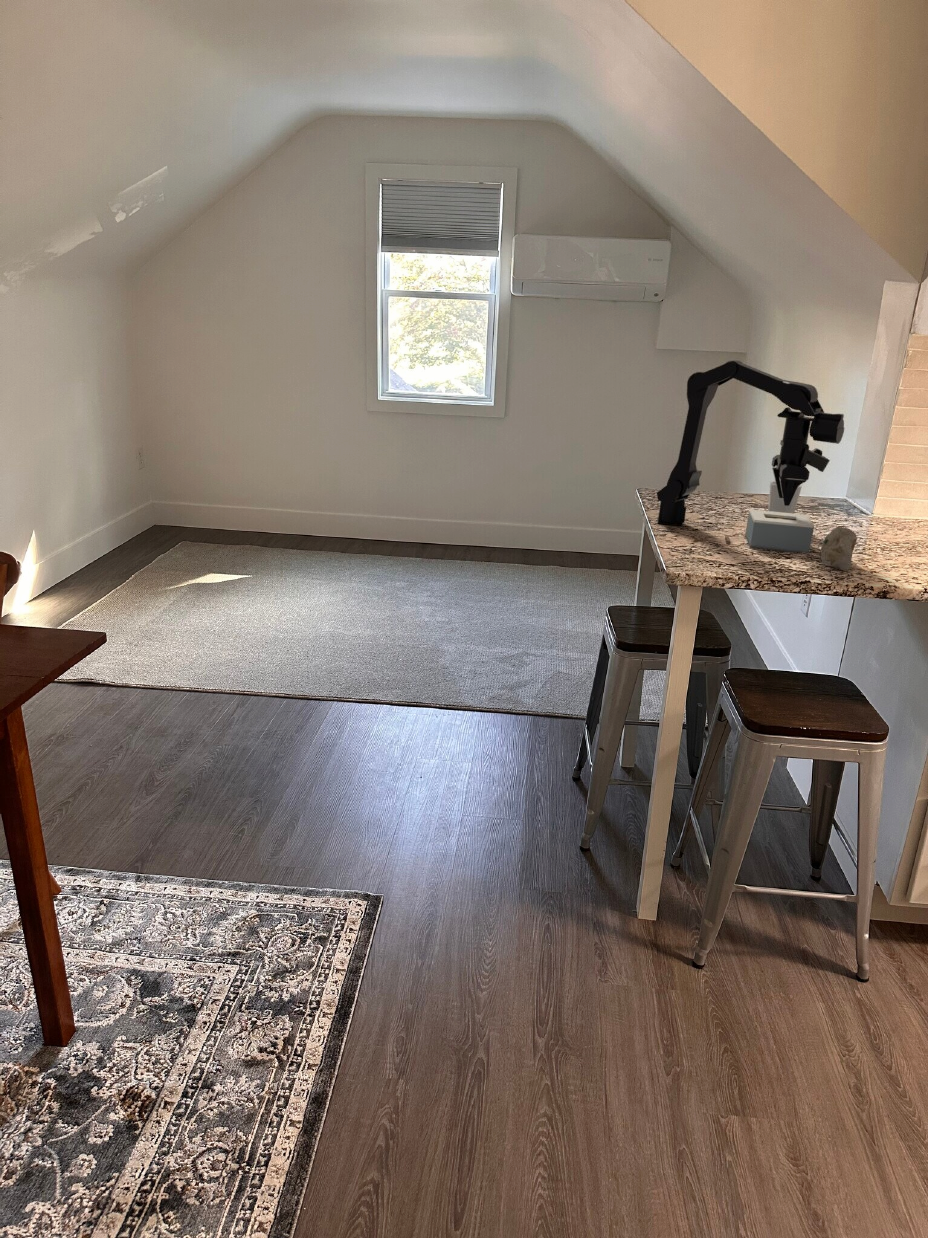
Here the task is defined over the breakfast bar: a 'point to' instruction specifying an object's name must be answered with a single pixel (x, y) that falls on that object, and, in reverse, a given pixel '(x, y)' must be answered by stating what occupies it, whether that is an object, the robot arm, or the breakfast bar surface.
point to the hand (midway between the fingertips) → (784, 501)
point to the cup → (781, 500)
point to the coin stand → (725, 538)
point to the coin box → (779, 531)
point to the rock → (838, 548)
